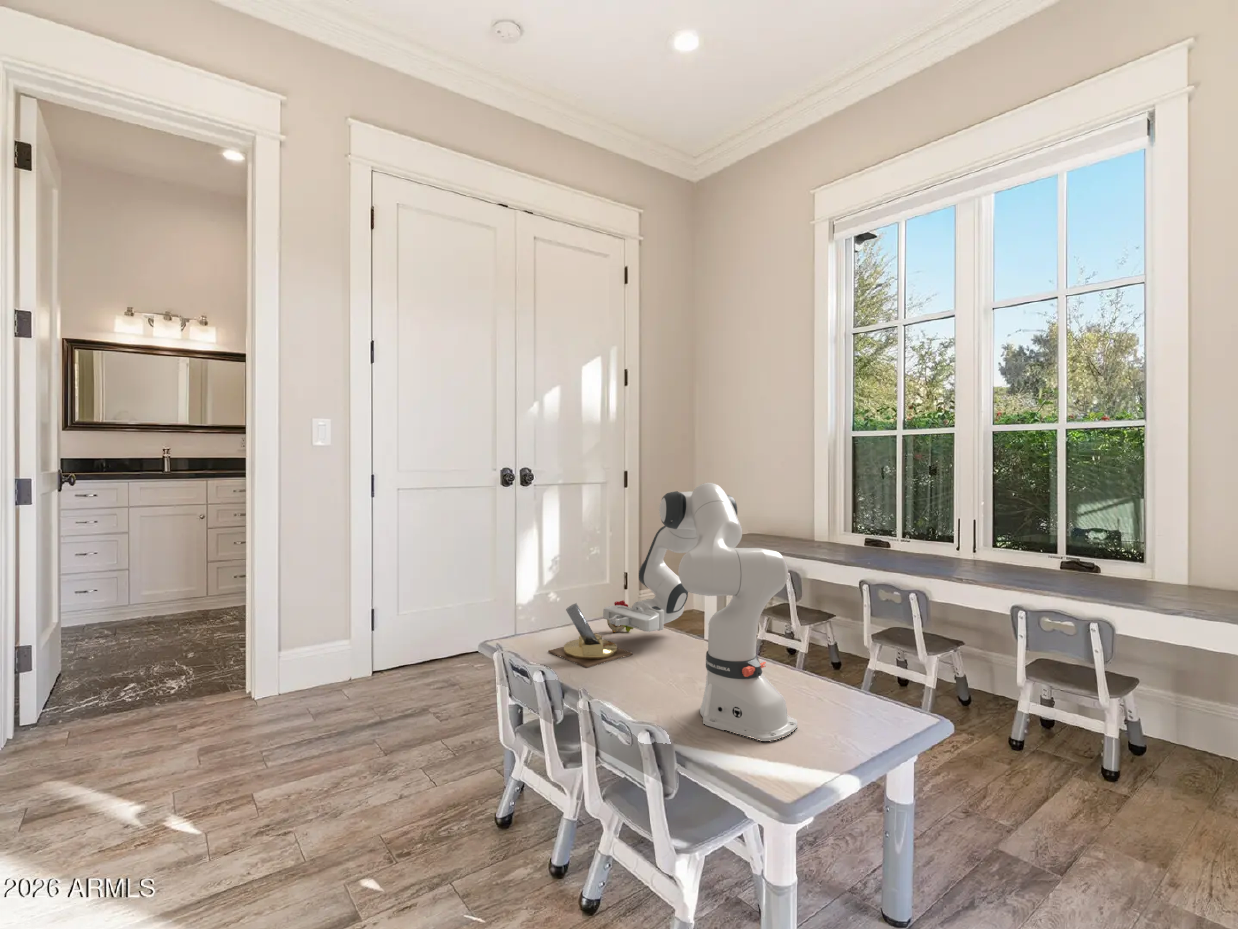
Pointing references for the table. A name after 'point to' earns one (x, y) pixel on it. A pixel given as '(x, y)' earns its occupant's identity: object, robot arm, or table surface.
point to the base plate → (590, 663)
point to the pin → (581, 625)
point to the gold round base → (590, 649)
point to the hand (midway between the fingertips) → (612, 622)
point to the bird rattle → (618, 628)
